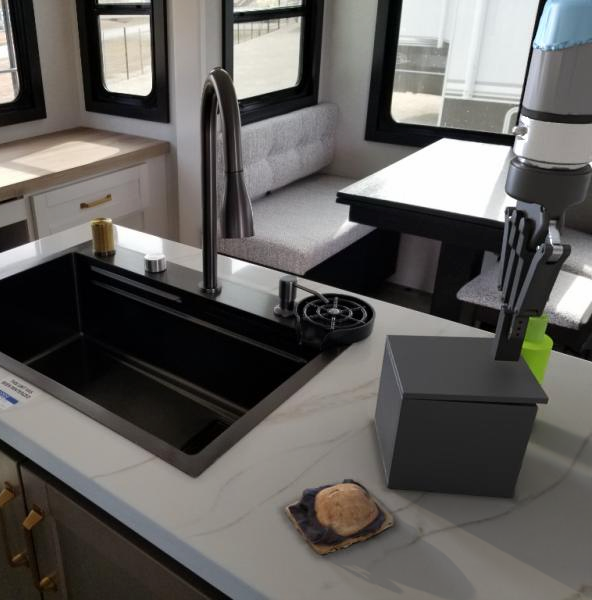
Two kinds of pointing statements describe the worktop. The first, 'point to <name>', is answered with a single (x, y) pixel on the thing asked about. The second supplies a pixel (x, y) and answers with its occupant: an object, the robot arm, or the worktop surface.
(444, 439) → the grey lidded box
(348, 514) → the bread roll
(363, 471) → the worktop surface
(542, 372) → the soap dispenser
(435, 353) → the box lid
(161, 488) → the worktop surface
